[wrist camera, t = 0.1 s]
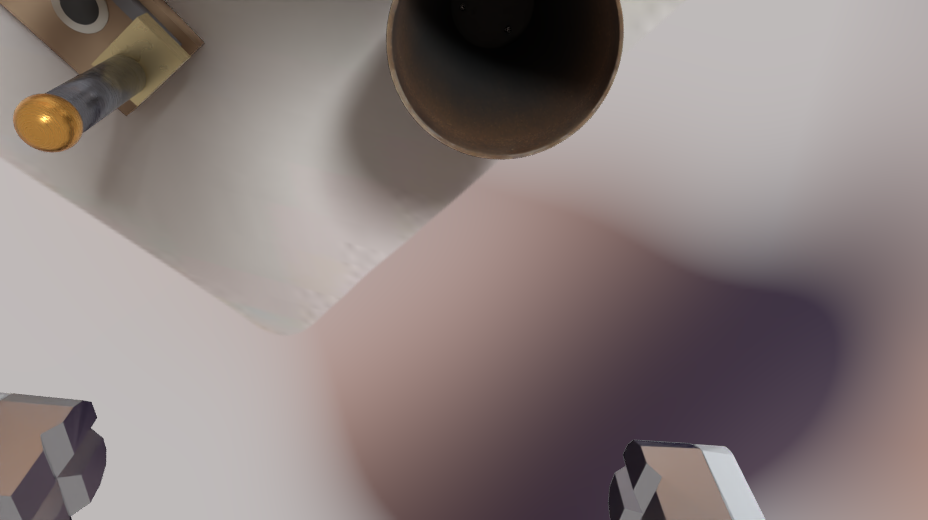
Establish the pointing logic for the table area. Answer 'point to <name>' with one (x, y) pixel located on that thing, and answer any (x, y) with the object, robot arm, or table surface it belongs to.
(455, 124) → the plant pot
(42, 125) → the sliding leg
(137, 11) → the wooden peg board
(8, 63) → the table surface
